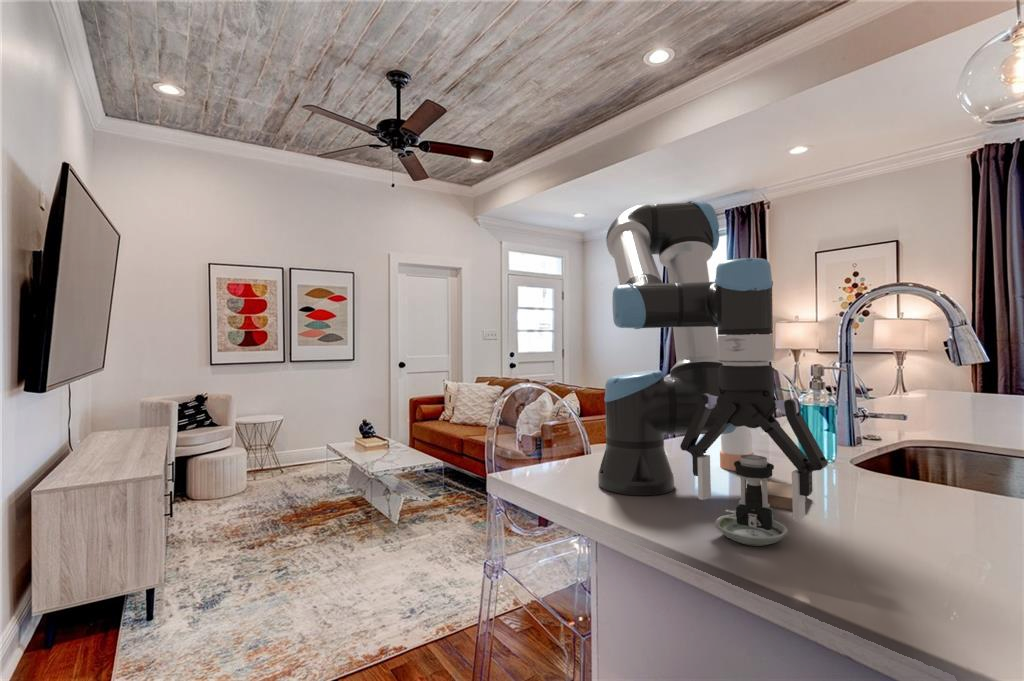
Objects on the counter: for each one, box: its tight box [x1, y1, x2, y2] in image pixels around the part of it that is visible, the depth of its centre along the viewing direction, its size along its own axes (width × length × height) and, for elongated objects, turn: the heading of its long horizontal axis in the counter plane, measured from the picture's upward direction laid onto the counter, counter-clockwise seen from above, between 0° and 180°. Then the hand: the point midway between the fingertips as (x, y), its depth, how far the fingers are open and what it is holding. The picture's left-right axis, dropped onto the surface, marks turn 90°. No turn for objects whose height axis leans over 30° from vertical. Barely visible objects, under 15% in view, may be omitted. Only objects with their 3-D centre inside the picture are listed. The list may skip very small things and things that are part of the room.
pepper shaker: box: [719, 426, 755, 472], centre depth 117 cm, size 7×7×19 cm
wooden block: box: [746, 480, 808, 511], centre depth 93 cm, size 9×9×2 cm
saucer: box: [714, 513, 788, 547], centre depth 75 cm, size 10×10×2 cm
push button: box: [724, 454, 775, 530], centre depth 75 cm, size 7×5×10 cm
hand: (748, 507), depth 75 cm, fingers open, 13 cm apart
